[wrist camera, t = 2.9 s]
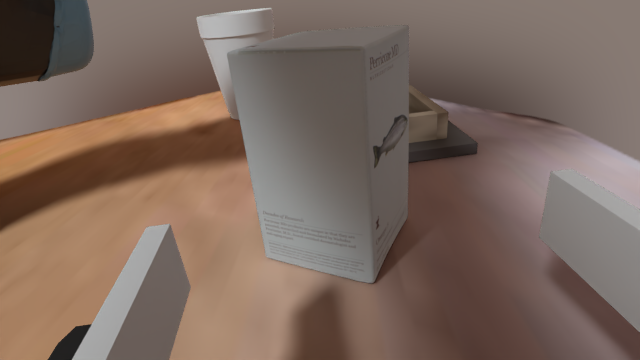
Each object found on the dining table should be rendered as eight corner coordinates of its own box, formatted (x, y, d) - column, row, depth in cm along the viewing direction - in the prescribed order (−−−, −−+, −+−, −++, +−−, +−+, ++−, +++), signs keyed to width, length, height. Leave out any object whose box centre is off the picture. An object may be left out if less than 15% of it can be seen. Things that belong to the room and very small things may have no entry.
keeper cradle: (300, 176, 34) (295, 139, 33) (294, 121, 48) (290, 94, 47) (476, 153, 35) (479, 115, 33) (419, 106, 49) (419, 78, 48)
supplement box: (375, 288, 21) (363, 44, 15) (263, 259, 24) (219, 49, 19) (412, 218, 27) (413, 21, 21) (317, 202, 30) (295, 28, 24)
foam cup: (205, 121, 53) (180, 19, 47) (247, 102, 60) (230, 11, 54) (260, 126, 48) (240, 14, 43) (298, 104, 56) (286, 6, 50)
